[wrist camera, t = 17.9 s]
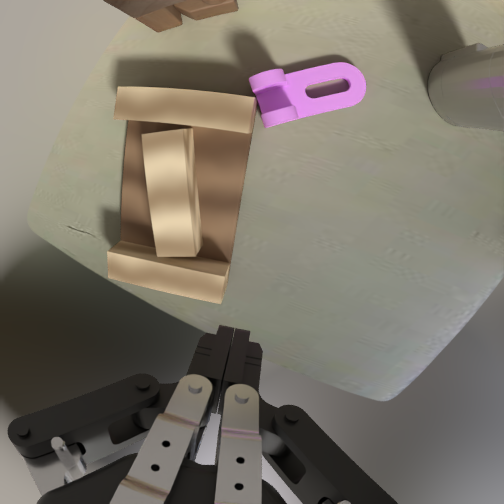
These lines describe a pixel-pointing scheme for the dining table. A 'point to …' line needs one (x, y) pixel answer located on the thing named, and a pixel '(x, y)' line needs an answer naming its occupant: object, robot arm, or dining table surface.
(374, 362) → the dining table surface
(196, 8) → the wooden block
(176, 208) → the oak plank
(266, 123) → the bracket
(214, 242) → the brown wooden cradle
